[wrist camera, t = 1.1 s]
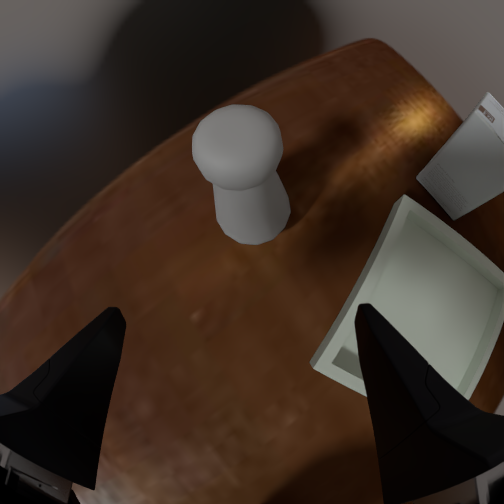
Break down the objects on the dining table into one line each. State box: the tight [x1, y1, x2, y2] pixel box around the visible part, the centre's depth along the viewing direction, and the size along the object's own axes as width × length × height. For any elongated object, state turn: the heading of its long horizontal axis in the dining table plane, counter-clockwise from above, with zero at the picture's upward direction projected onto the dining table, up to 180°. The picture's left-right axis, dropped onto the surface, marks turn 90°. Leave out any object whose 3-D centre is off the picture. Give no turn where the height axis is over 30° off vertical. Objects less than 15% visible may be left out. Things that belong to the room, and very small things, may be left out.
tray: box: [309, 194, 504, 400], centre depth 20 cm, size 16×16×2 cm
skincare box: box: [416, 92, 504, 220], centre depth 18 cm, size 6×4×12 cm
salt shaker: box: [192, 105, 291, 245], centre depth 18 cm, size 6×6×13 cm
